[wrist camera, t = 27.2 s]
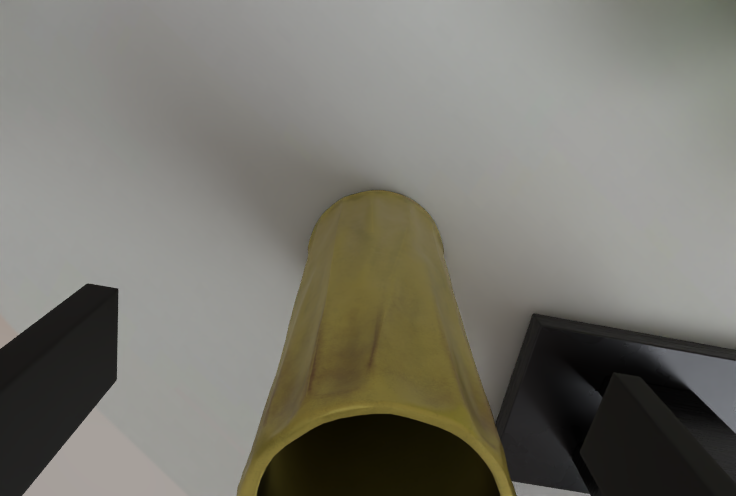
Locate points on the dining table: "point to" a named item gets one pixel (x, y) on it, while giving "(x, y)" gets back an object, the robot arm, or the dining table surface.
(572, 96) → the dining table surface
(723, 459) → the stand
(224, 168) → the dining table surface
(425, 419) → the vase
